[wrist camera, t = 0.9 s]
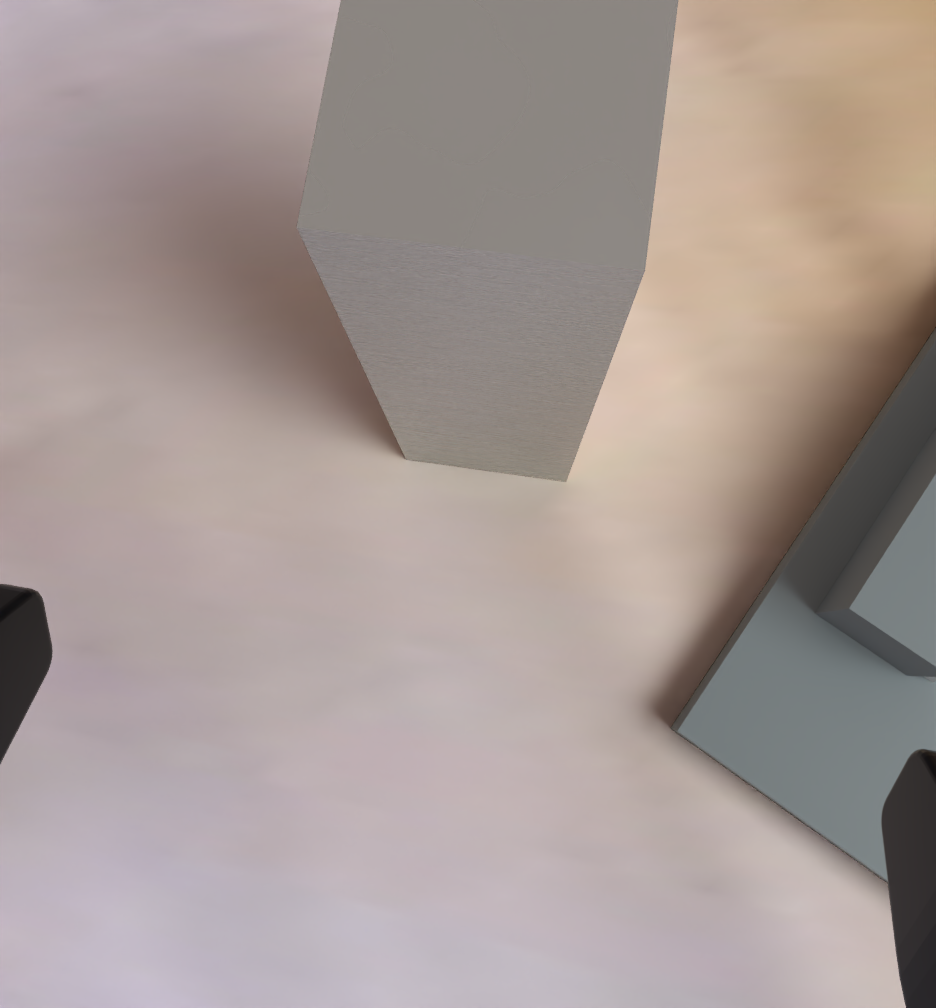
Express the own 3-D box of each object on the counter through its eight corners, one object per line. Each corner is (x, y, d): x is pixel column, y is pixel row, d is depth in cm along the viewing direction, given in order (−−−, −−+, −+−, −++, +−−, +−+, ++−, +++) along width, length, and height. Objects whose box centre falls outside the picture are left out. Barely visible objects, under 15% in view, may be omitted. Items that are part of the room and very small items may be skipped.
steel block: (566, 481, 22) (644, 270, 10) (406, 459, 22) (296, 227, 10) (591, 291, 23) (691, -113, 11) (436, 271, 23) (369, -144, 11)
